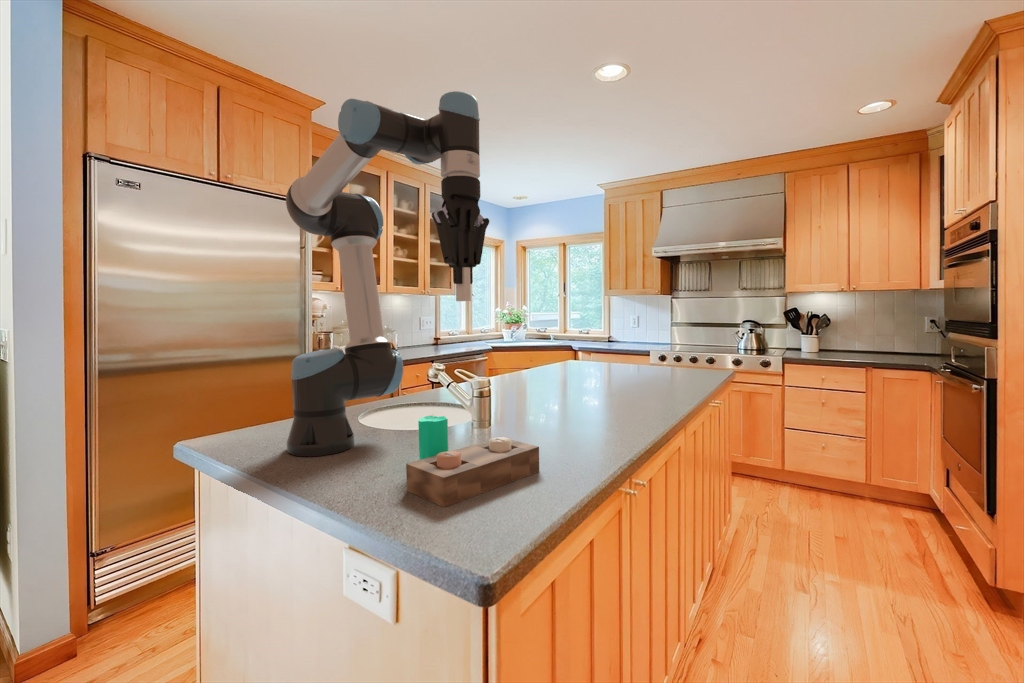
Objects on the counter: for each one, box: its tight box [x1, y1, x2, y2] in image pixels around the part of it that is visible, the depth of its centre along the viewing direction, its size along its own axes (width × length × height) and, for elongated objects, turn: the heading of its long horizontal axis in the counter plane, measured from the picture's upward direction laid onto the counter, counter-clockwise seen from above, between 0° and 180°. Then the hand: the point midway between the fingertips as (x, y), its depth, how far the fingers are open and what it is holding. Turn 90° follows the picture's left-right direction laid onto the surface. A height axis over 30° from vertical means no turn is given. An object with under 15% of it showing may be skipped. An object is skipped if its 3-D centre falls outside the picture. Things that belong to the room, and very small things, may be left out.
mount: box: [405, 439, 540, 508], centre depth 93 cm, size 11×24×5 cm, turn 136°
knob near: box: [437, 450, 461, 470], centre depth 88 cm, size 4×4×6 cm
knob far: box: [488, 436, 512, 453], centre depth 97 cm, size 4×4×6 cm
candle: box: [417, 415, 449, 460], centre depth 100 cm, size 6×6×12 cm
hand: (463, 301), depth 95 cm, fingers closed
